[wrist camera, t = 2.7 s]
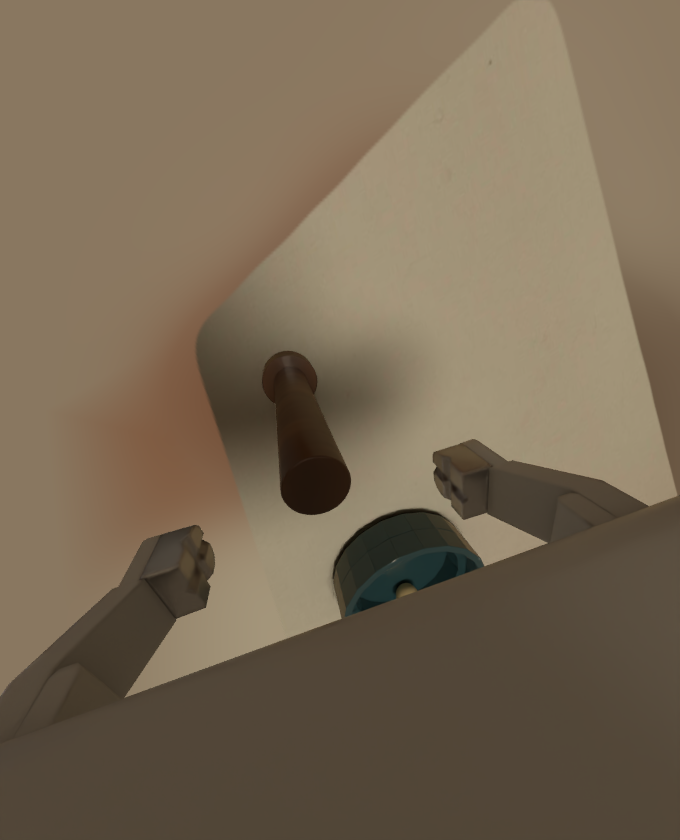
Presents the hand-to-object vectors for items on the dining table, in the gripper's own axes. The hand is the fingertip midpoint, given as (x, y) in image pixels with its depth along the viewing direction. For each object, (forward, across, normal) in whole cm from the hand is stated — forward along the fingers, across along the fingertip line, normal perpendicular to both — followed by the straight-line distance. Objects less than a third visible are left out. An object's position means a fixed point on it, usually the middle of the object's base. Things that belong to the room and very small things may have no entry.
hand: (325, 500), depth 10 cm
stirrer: (+17, 0, 0) cm, 17 cm away
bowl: (+17, -7, +28) cm, 33 cm away
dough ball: (+15, -7, +32) cm, 36 cm away
